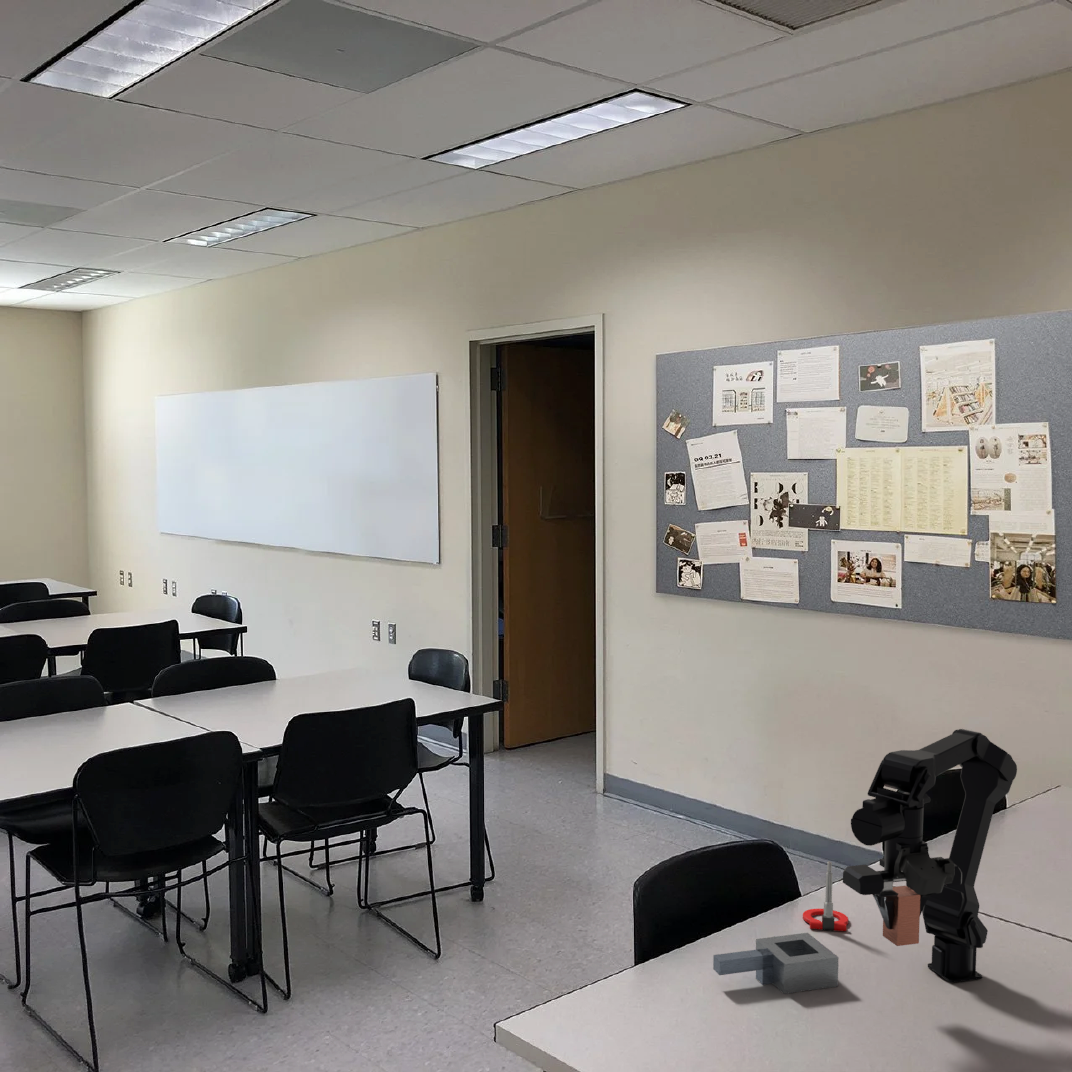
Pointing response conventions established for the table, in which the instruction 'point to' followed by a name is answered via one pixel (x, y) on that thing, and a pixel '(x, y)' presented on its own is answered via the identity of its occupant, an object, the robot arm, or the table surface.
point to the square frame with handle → (784, 963)
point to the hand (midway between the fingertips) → (900, 927)
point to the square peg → (904, 918)
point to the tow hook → (827, 910)
